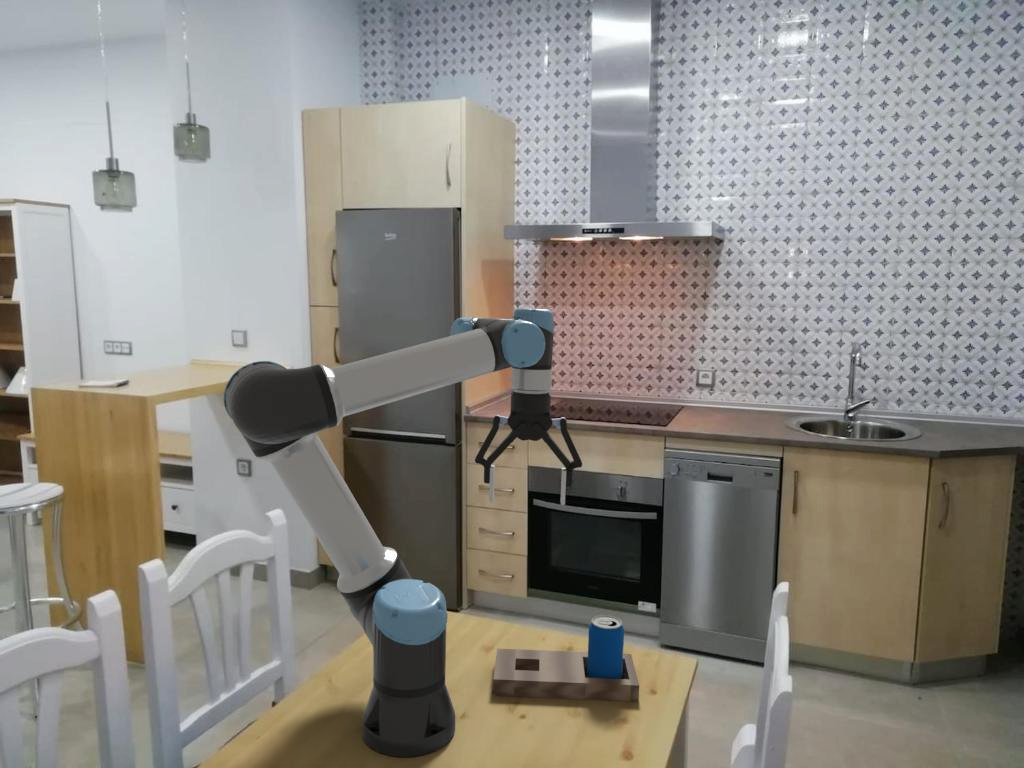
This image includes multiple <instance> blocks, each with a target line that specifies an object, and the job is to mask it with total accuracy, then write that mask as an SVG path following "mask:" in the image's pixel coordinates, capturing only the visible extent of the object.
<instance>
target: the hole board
mask: <svg viewBox="0 0 1024 768" xmlns="http://www.w3.org/2000/svg"><path fill="white" fill-rule="evenodd" d="M587 666H588V651H570V650H569V651H566V650H565V651H564V650H543V649H542V650H540V649H523V648H522V649H519V648H517V649H515V648H496V656H495V664H494V669H493V670H494V671H493V679H492V680H493V681H492V683H493V684H492V685H493V686H492V696H500V697H501V696H503V697H504V696H505V697H529V698H547V699H548V698H549V699H552V698H553V699H572V700H573V699H574V700H575V699H576V700H594V701H595V700H597V701H615V702H617V701H618V702H619V701H620V702H622V701H623V702H640V699H639V698H640V683H639V680H638V678H639V677H638V675H637V672H636V667H635V664H634V659H633V656H632V654H631V653H623V670H622V674H623V676H624V678H622V679H607V678H587V677H586V675H585V673H587Z"/></svg>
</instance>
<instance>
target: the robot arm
mask: <svg viewBox="0 0 1024 768" xmlns="http://www.w3.org/2000/svg"><path fill="white" fill-rule="evenodd" d="M554 327H555V323H554V314H553V312H552V311H551V310H550V309H543V308H520V307H519V308H515V310H514V311H513V315H512V318H495V317H474V316H469V317H458V318H456V319H455V320H454V321H453V323H452V325H451V328H450V331H449V332H450V333H449V336H445V337H442V338H438V339H435V340H434V339H433V340H431V341H427V342H424V343H420V344H416V345H413V346H408V347H404V348H401V349H397V350H394V351H390V352H386V353H382V354H378V355H375V356H371V357H368V358H365V359H359V360H356V361H352V362H348V363H345V364H341V365H338V366H334V367H327V366H325V365H323V364H321V363H319V364H316V365H311V366H305V367H299V368H286V367H285V366H284V365H281V364H279V363H277V362H274V361H269V360H261V361H260V360H258V361H253V362H251V363H248V364H246V365H243V366H242V367H240V368H238V370H236V371H235V372H234V373H233V374H232V375H231V376H230V378H229V380H228V381H227V383H226V384H225V385H226V386H225V388H224V392H223V405H224V408H225V412H226V413H227V415H228V416H229V418H230V419H231V420H232V421H233V424H234V426H235V427H236V429H238V431H239V433H241V435H242V437H243V438H244V441H246V443H247V445H248V447H249V448H250V450H251V451H252V453H253V454H254V456H255V457H256V458H257V459H259V460H265V461H268V462H270V463H271V465H272V466H273V468H274V470H275V472H276V473H277V475H278V476H279V478H280V480H281V482H282V483H283V484H284V486H285V488H286V490H287V491H288V492H289V494H290V495H291V498H292V499H293V501H294V503H295V504H296V505H297V507H298V508H299V510H300V512H301V513H302V515H303V517H304V518H305V520H306V521H307V523H308V525H309V526H310V528H311V529H312V531H313V533H314V535H315V536H316V538H317V540H318V542H319V543H320V544H321V546H322V548H323V549H324V551H325V553H326V554H327V555H328V558H329V559H330V560H331V562H332V564H333V565H334V567H335V569H336V570H337V572H338V574H339V575H338V579H337V583H336V587H337V590H339V592H340V594H341V596H342V598H343V599H344V601H345V603H346V604H347V605H348V607H349V610H350V612H351V615H353V617H354V618H355V619H356V621H357V623H359V625H360V626H361V628H362V630H363V631H364V633H365V635H366V637H367V639H368V641H369V642H370V644H371V645H372V652H373V655H372V656H373V658H372V659H373V662H372V663H373V664H372V665H373V666H372V667H373V668H372V669H373V670H372V671H373V672H372V673H373V674H372V677H373V679H372V680H373V681H372V683H373V684H372V689H371V692H370V695H369V697H368V701H367V704H366V706H365V709H364V713H363V716H362V719H361V721H362V722H361V727H362V728H361V736H362V739H363V741H364V743H365V744H366V745H367V746H368V747H369V748H370V749H372V750H373V751H376V753H377V752H378V753H380V754H383V755H387V756H392V757H399V758H401V757H402V758H403V757H404V758H405V757H407V758H408V757H417V756H423V755H427V754H430V753H433V752H436V751H437V750H439V749H441V748H442V747H444V746H445V745H446V744H448V743H449V742H450V741H451V740H452V738H453V737H454V735H455V733H456V712H455V709H454V706H453V702H452V699H451V697H450V694H449V690H448V688H447V684H446V668H447V667H446V666H447V665H446V663H447V662H446V660H447V659H446V658H447V624H448V618H449V617H448V610H447V602H446V598H445V595H444V593H443V592H442V591H441V590H440V589H439V587H437V586H435V585H434V584H432V583H431V582H424V581H423V580H420V579H413V578H412V577H411V574H410V573H409V571H408V570H407V568H406V566H405V564H404V563H403V561H402V559H401V557H400V556H399V554H398V553H397V550H396V549H394V548H392V547H389V546H383V544H382V543H381V540H380V539H379V538H378V536H377V533H376V532H375V530H374V529H373V527H372V525H371V524H370V522H369V519H367V517H366V515H365V513H364V512H363V510H362V509H361V506H360V505H359V503H358V502H357V500H356V499H355V497H354V494H353V493H352V492H351V490H350V488H349V486H348V484H347V483H346V481H345V480H344V478H343V476H342V475H341V473H340V471H339V469H338V467H337V466H336V464H335V462H334V461H333V459H332V458H331V456H330V454H329V452H328V450H327V449H326V447H325V445H324V443H323V441H322V440H321V439H320V437H319V435H318V433H320V432H322V431H325V430H328V429H331V428H334V427H338V426H339V425H340V423H341V422H342V420H343V418H344V417H347V416H350V415H354V414H357V413H360V412H363V411H367V410H370V409H374V408H377V407H381V406H384V405H386V404H390V403H393V402H394V403H395V402H398V401H400V400H405V399H407V398H410V397H414V396H417V395H421V394H423V393H428V392H429V391H430V392H431V391H434V390H437V389H440V388H443V387H444V388H445V387H448V386H451V385H454V384H456V383H461V382H463V381H467V380H471V379H475V378H477V377H480V376H484V375H488V374H491V373H495V372H499V371H503V370H505V369H510V368H511V385H510V388H512V390H513V391H512V392H511V394H510V410H509V411H510V414H509V416H503V415H502V416H501V415H500V414H498V413H496V414H495V415H494V417H493V421H492V427H491V428H490V430H489V433H488V434H487V436H486V438H485V440H484V441H483V443H482V445H481V447H480V449H479V451H478V452H477V455H475V458H474V462H475V464H479V465H481V466H483V482H484V484H489V489H488V490H489V492H488V502H490V503H493V502H494V498H495V473H496V472H495V471H496V469H495V468H496V466H495V464H493V463H494V462H495V461H496V460H497V459H498V458H499V457H500V456H501V455H502V453H504V451H506V450H507V448H508V447H509V446H510V445H511V444H512V443H513V442H514V441H515V440H516V439H519V440H520V441H528V440H530V441H532V442H538V441H540V440H543V442H544V443H545V444H546V445H547V446H548V448H549V449H550V450H551V451H552V453H553V454H554V455H555V457H556V458H557V459H558V460H559V461H560V462H561V464H562V465H563V467H561V481H560V482H561V483H560V505H561V506H565V505H566V489H567V488H570V487H572V484H573V471H574V470H575V469H578V468H582V467H583V461H582V459H581V457H580V455H579V453H578V451H577V447H576V445H575V444H574V442H573V439H572V437H571V434H570V432H569V431H568V422H567V419H566V417H565V416H561V417H560V418H552V416H551V403H552V401H551V400H552V394H551V393H550V392H549V391H551V390H552V379H553V378H552V377H553V375H552V374H553V368H552V367H553V355H554V354H553V353H554V352H553V350H554V336H555V329H554ZM505 424H508V426H509V428H510V429H511V431H510V433H509V434H508V435H507V436H506V437H505V438H504V439H503V440H502V441H501V442H500V444H499V445H497V447H496V448H495V449H494V450H493V451H492V452H491V453H490V454H489V455H488V457H486V456H485V455H486V454H487V451H488V449H489V448H490V446H491V444H492V443H493V440H494V439H495V437H496V435H497V434H498V432H499V428H504V425H505ZM553 425H554V426H555V428H556V430H558V431H559V430H560V433H561V436H562V438H563V440H564V442H565V445H566V446H567V448H568V451H569V453H570V455H571V457H572V459H573V460H571V461H570V459H569V458H568V457H567V456H566V454H565V452H563V450H562V449H561V448H560V446H559V445H558V444H557V443H556V442H555V440H554V439H553V437H552V436H551V434H549V430H550V429H551V427H552V426H553Z"/></svg>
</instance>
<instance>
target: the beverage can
mask: <svg viewBox="0 0 1024 768" xmlns="http://www.w3.org/2000/svg"><path fill="white" fill-rule="evenodd" d="M624 640H625V627H624V626H623V621H622V620H621V619H620V618H618V617H616V616H613V615H609V614H607V615H605V614H602V615H601V614H600V615H596V616H594V617H592V618H591V622H590V623H589V625H588V642H587V643H588V644H587V645H588V647H587V652H588V666H587V672H586V673H587V674H586V678H607V679H623V673H622V670H623V654H624V643H625V641H624Z"/></svg>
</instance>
